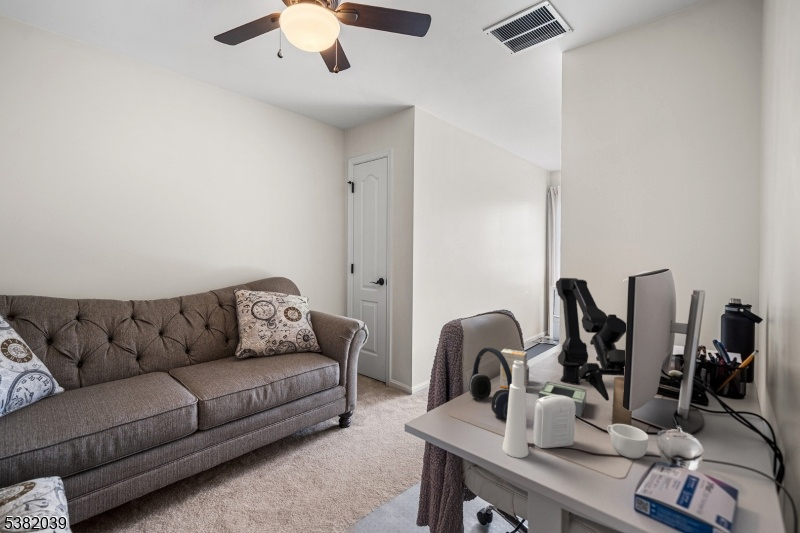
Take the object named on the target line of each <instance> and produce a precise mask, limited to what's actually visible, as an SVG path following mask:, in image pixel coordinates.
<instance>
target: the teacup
mask: <svg viewBox="0 0 800 533" xmlns="http://www.w3.org/2000/svg"><path fill="white" fill-rule="evenodd" d="M606 430H607V433H608V435H609V436H610V441H611V442H610V443H611V445H612V447H613V448H614V450H615V451H616V452H617V453H618V454H619V455H621V456H623V457H625V458H629V459H632V460H633V459H640V458H642V457H644V456H645V454H646V453H647V450H648V446H649V435H648V433H646V432H645V431H643V430H642V429H640V428H638V427H635V426H633V425H631V426H630V425H625V424H609V425H607V428H606Z"/></svg>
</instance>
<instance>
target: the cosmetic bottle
mask: <svg viewBox="0 0 800 533" xmlns="http://www.w3.org/2000/svg"><path fill="white" fill-rule="evenodd" d="M523 364H524V362H522V361H518V360H516V361H514V365H513V366H512V384H510V390H509V400H508V412H507V418H506V426H505V433H504V439H503V442H502V446H501V448H502V451H503V453H505V454H506V455H508V456H510V457H513V458H517V459H522V458H525V457H528V455H529V447H528V439H527V438H528V437H527V436H528V435H527V434H528V433H527V396H526V395H527V392H526V390H527V386H526V387H525V386H524V370H525V367H524V366H523Z"/></svg>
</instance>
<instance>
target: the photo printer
mask: <svg viewBox="0 0 800 533" xmlns="http://www.w3.org/2000/svg"><path fill="white" fill-rule="evenodd" d="M575 411H576V406H575V402H574V400H573V399H571V398H570V397H567V396H563V395H550V396H545V397H542V398H540V399H539V398H538V399H536V401H535V402H534V414H533V415H534V416H533V431H532V432H533V433H532V439H533V444H534V445H535V446H536V447H537V448H541V449H550V448H561V447H569V446H573V445H574V442H575V425H576V416H575Z"/></svg>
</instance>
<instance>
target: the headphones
mask: <svg viewBox="0 0 800 533" xmlns="http://www.w3.org/2000/svg"><path fill="white" fill-rule="evenodd" d="M488 352H489V353H492V354H493V355H495V356H496V357H497V358H498V360H499V361H500V365H501V364H502V366H503V368H504V371H505V374H506V377H507V383H508V389H507V388H502V389H499V390H497V391H495V392H494V394H493V395H492V398H491V411H492V412H493V413H494V414H495V416H496V417H497V418H499V419H507V412H508V400H509V390H510V384H512V375H511V371H510V368H509V365H508V363H507V361H506V359H505V357H504V356H503V354H502V353H501V351H499V350H498V349H496V348H494V347H484V348H482V349H481V350H480V351H479V352H478V353H477V355H476V358H475V360H474V364H473V370H472V374H471V376H470V379H469V384H468V385H469V393H470V396H471V397H472V398H474V399H476V400H478V401H479V400H480V401H481V400H486V399H488V398H489V397H490V396H491V392H492V382H491V379H490V377H488V375H486V374H483V373H479V367H480V363H481V360H482V357H483V356H484V354H486V353H488Z"/></svg>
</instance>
